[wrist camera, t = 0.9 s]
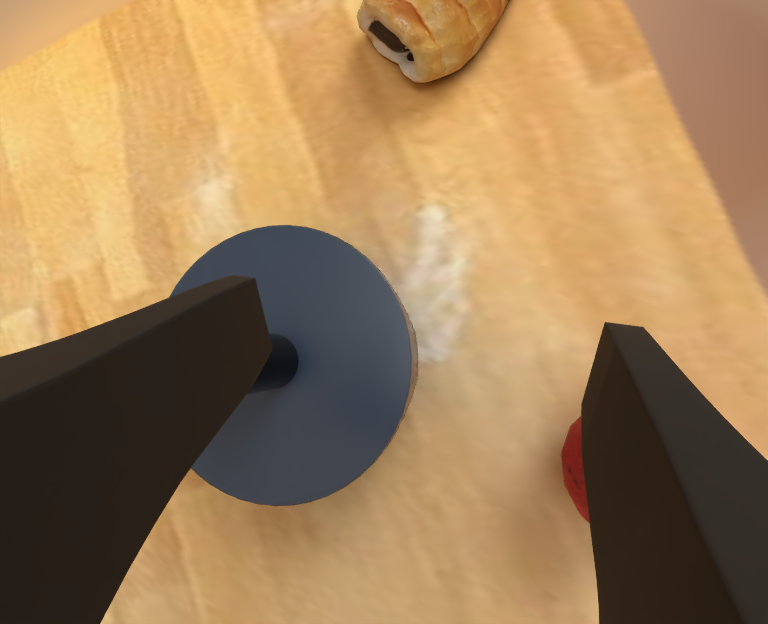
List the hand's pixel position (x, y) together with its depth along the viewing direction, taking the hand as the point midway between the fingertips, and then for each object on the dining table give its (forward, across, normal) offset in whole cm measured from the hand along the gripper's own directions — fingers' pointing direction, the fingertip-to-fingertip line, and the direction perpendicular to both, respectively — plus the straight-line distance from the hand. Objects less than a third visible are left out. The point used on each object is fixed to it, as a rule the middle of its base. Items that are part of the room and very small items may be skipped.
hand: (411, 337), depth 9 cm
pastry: (+23, +4, -5) cm, 24 cm away
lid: (+6, +8, +7) cm, 12 cm away
